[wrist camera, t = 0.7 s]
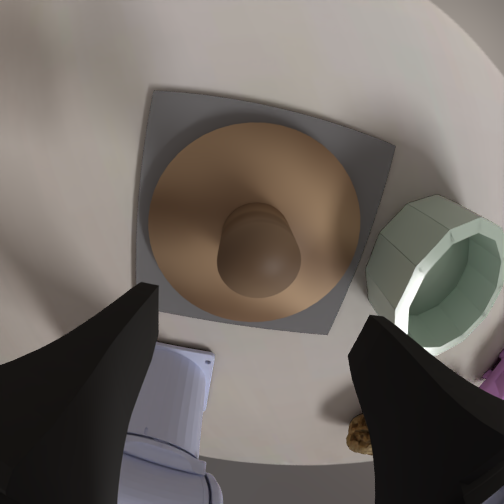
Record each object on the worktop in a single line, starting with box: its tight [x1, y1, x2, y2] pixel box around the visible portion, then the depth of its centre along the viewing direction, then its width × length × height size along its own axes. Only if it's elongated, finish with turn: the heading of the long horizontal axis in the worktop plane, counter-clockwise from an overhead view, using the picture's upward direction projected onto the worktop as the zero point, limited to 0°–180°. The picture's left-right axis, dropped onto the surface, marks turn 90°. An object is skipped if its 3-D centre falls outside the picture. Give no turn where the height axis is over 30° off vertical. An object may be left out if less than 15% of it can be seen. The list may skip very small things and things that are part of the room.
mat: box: [136, 90, 396, 335], centre depth 17 cm, size 15×15×1 cm
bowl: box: [365, 194, 504, 356], centre depth 17 cm, size 11×11×5 cm
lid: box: [148, 122, 360, 322], centre depth 15 cm, size 13×13×4 cm
